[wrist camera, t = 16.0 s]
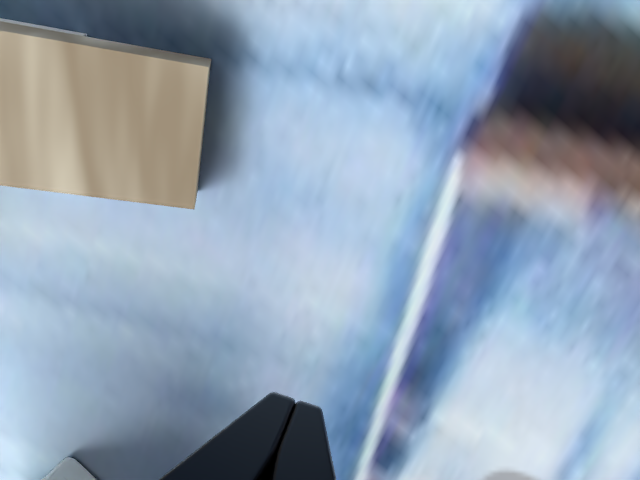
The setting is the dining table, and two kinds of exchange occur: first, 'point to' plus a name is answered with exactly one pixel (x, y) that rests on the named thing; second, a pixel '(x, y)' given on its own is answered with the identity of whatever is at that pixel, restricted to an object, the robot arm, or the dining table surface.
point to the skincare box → (69, 471)
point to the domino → (100, 117)
